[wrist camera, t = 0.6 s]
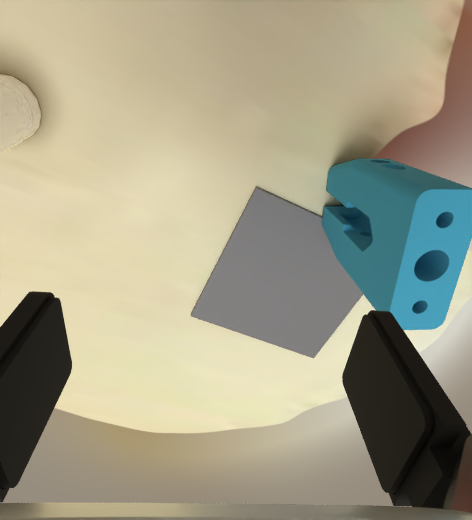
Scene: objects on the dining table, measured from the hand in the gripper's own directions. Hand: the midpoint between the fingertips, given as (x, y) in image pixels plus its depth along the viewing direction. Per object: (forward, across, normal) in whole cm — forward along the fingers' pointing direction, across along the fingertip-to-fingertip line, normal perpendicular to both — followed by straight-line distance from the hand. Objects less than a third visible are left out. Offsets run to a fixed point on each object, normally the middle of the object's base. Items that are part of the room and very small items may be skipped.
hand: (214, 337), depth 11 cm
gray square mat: (+35, -12, +20) cm, 42 cm away
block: (+35, -17, +7) cm, 39 cm away
